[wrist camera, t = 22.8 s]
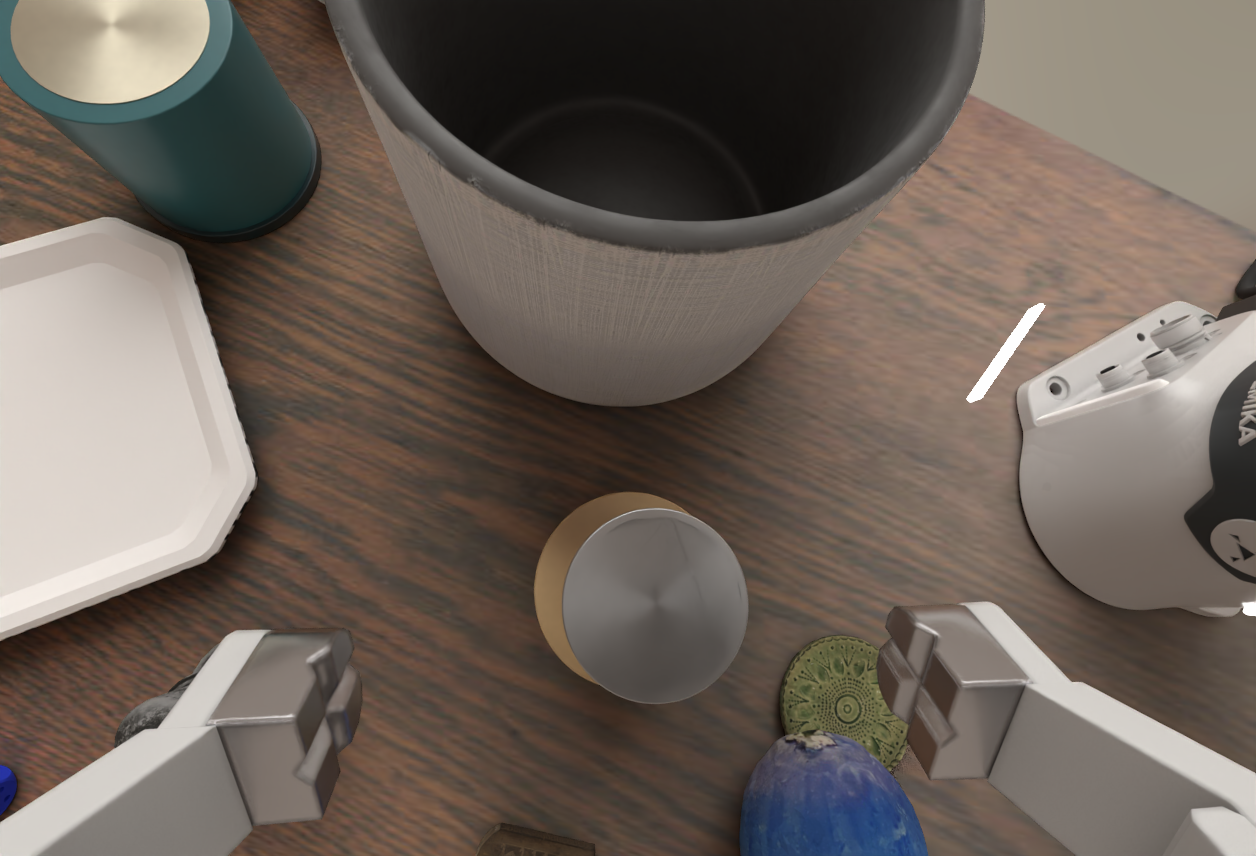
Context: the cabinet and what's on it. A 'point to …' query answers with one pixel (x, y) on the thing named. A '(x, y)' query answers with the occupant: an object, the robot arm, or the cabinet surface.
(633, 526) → the silver cup
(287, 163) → the teal cylindrical knob
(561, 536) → the stand
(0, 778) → the dice
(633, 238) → the planter
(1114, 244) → the cabinet surface
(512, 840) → the block
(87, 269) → the plate
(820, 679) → the medallion
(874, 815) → the blue oval fruit
